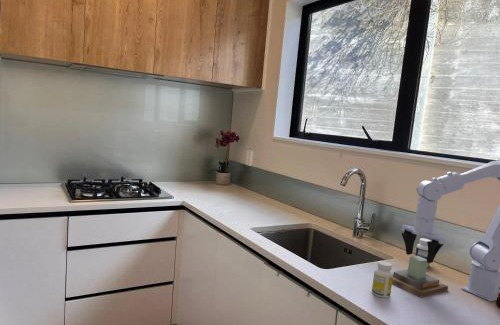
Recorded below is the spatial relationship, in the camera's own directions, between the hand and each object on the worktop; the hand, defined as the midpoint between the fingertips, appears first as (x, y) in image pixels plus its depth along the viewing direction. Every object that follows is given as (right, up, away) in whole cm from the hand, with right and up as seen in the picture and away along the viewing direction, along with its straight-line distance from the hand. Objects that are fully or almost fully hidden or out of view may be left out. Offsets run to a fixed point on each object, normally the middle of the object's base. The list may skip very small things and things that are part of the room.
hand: (419, 258), depth 125 cm
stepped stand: (-1, -9, +1) cm, 9 cm away
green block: (-1, -6, +1) cm, 6 cm away
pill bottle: (+11, -8, +22) cm, 26 cm away
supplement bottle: (-16, -9, -9) cm, 20 cm away
